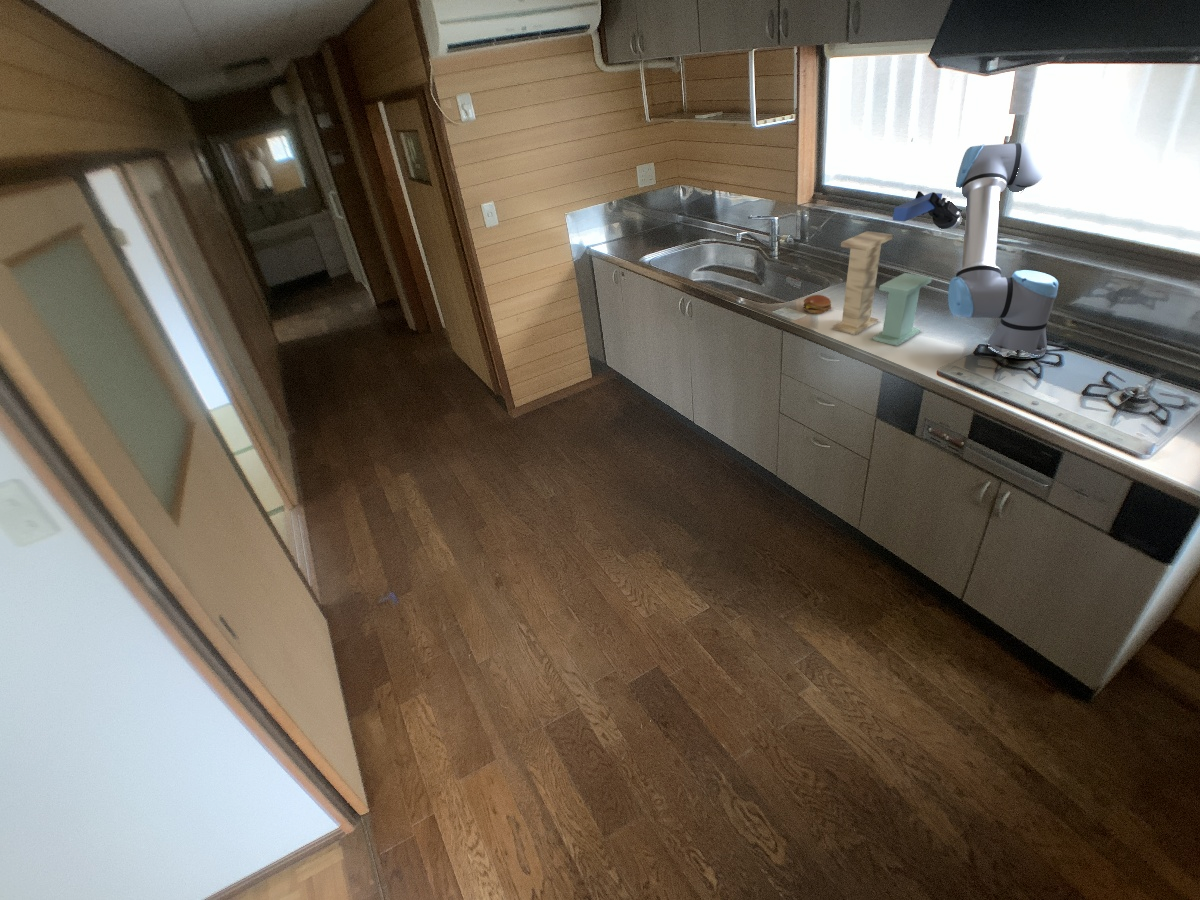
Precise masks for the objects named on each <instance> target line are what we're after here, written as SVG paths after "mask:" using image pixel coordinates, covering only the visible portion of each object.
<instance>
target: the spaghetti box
mask: <svg viewBox="0 0 1200 900" xmlns="http://www.w3.org/2000/svg"><path fill="white" fill-rule="evenodd" d="M935 193H936V194H937V195H938V196H939V198H940V199H942V198H943V193H941V192H940V193H939V192H935ZM931 194H932V192H928V193H926V194H924V196H921V197H919V198H917V199H915V198H913V199H912V200H909V201H907V202H904V203H902V204H900V205H896V206H895V207H894V208H893V215H892V221H895V222H907V221H909V220H911V219H913V218H916V217H918V216H921V215H922V214H923V213H925V212H928V211H930V210H932V209H934V208H937V207H935V206H934V205H933V204H932V203H931V202H930V201H929V199H930V197H931ZM938 207H939V206H938Z"/></svg>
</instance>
